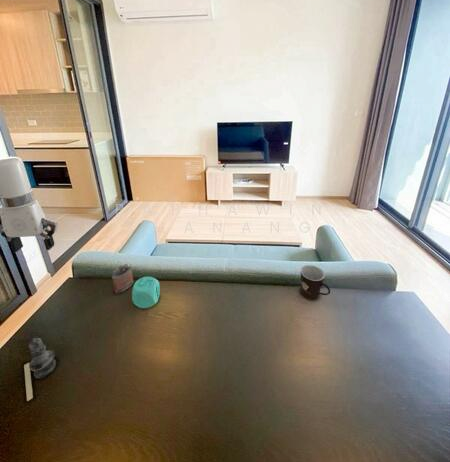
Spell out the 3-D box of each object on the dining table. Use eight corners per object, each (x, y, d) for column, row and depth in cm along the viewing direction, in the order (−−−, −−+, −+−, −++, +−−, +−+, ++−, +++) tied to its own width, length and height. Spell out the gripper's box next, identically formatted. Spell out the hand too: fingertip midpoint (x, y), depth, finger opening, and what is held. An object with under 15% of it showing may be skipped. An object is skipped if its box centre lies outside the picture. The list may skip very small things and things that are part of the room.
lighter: (130, 279, 104) (127, 260, 101) (135, 282, 102) (132, 263, 99) (113, 291, 98) (108, 271, 95) (118, 294, 96) (113, 274, 93)
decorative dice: (155, 308, 90) (152, 291, 87) (133, 308, 90) (130, 291, 87) (160, 292, 97) (158, 276, 94) (140, 292, 97) (138, 276, 95)
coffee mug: (294, 286, 99) (297, 266, 96) (315, 284, 100) (318, 264, 97) (307, 309, 88) (310, 287, 85) (329, 307, 89) (333, 285, 86)
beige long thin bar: (24, 365, 71) (24, 365, 71) (29, 362, 72) (29, 362, 72) (27, 401, 63) (27, 401, 63) (32, 397, 63) (32, 397, 63)
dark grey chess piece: (54, 354, 74) (43, 325, 70) (59, 368, 70) (48, 338, 66) (31, 368, 70) (18, 338, 66) (34, 384, 67) (21, 353, 62)
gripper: (-25, 206, 68) (-4, 257, 74) (40, 203, 69) (56, 254, 75) (-4, 195, 75) (14, 243, 81) (56, 193, 76) (69, 240, 82)
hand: (34, 248), depth 78 cm, fingers open, 9 cm apart
